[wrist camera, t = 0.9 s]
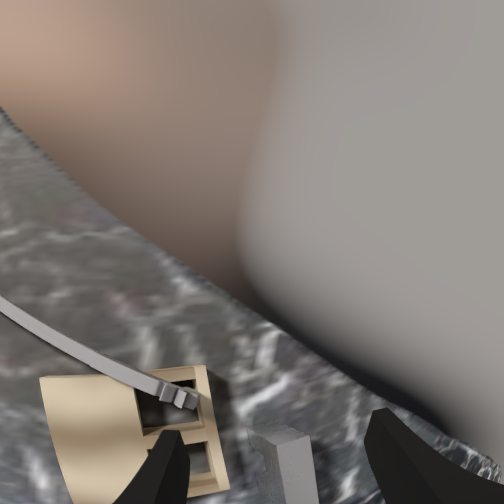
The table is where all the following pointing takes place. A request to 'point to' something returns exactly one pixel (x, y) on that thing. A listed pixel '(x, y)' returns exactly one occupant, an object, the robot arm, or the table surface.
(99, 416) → the tan wooden flat block
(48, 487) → the table surface
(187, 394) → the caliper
